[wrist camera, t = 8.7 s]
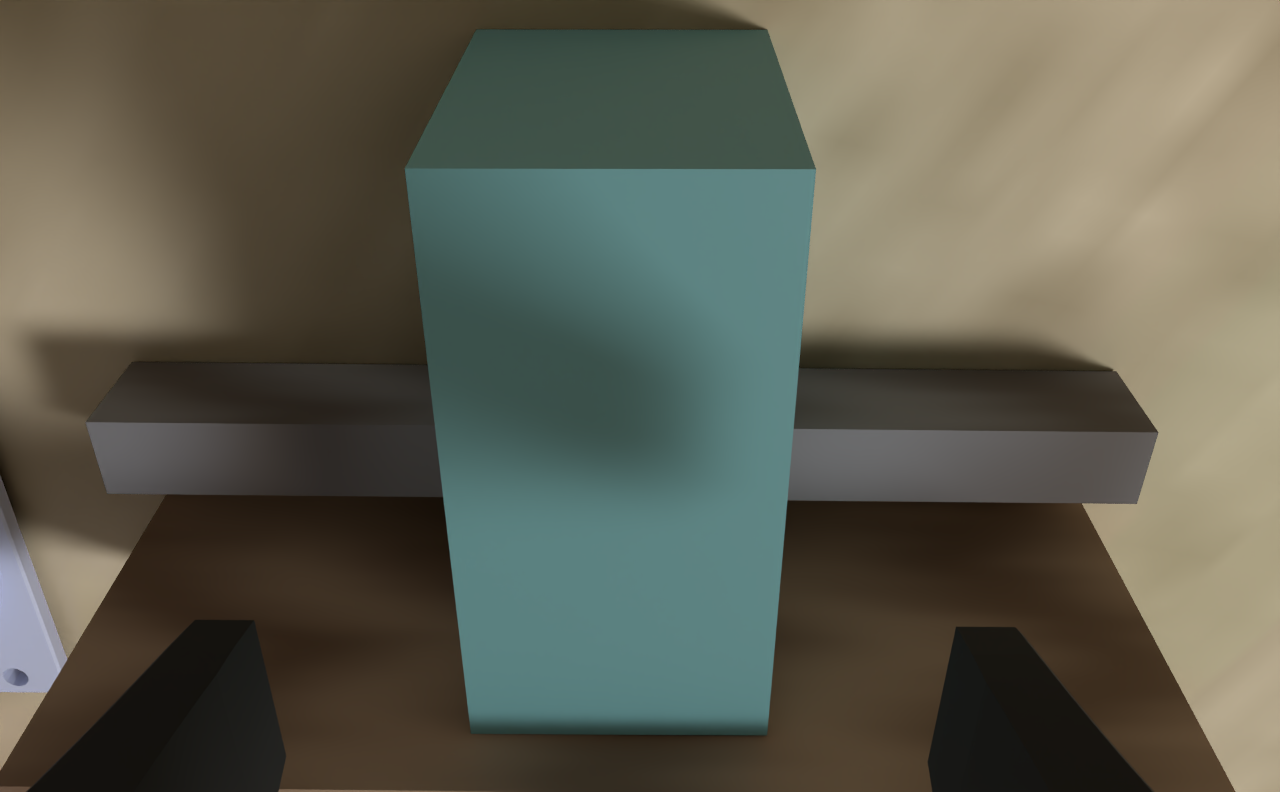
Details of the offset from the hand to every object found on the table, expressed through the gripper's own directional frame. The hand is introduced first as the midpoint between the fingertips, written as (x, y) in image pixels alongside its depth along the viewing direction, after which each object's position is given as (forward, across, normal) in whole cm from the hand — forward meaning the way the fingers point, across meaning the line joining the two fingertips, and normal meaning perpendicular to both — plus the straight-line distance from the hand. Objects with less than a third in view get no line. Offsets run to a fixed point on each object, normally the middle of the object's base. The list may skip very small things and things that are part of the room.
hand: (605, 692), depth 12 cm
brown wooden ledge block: (+9, 0, +4) cm, 10 cm away
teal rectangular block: (+9, 0, 0) cm, 9 cm away
